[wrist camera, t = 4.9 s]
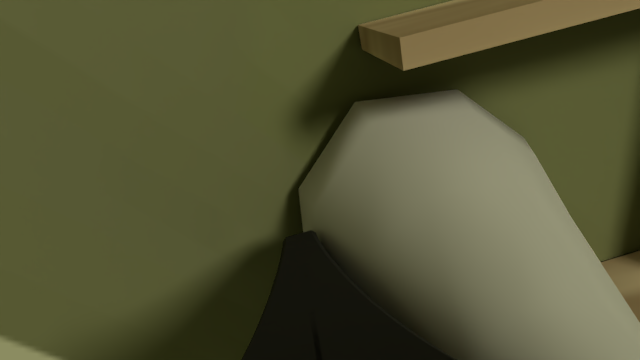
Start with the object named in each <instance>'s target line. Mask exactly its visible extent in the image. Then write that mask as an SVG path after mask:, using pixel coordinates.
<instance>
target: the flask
mask: <svg viewBox="0 0 640 360" xmlns="http://www.w3.org/2000/svg"><path fill="white" fill-rule="evenodd" d="M298 190H299V199H300V208H301V217H302V226H303V232H306V231H310V230H312V231H314V232H316V234H317V236H318V238H319V240H320V242H321V244H322V245H323V247H324V248H325V250H326V251H327V252H328V254H329V255H330V256H331V258H332V259H333V260H334V261H335V262H336V264H337V265H338V266H339V267H340V268H341V269H342V270H343V272H344V273H345V274H346V275H347V276H348V277H349V278H350V279H351V280H352V281H353V282H354V283H355V284H356V285H357V286H358V287H359V288H360V289H361V290H362V291H363V292H364V293H365V294H366V295H367V296H368V297H370V298H371V299H372V300H373V301H374V302H375V303H376V304H377V305H379V306H380V307H381V308H382V309H384V310H385V311H386V312H387V313H389V314H390V315H391V316H392V317H394V318H395V319H396V320H398V321H399V322H400V323H402V324H403V325H404V326H406V327H407V328H408V329H410V330H411V331H413V332H414V333H416V334H417V335H419V336H420V337H422V338H423V339H425V340H427V341H428V342H430V343H431V344H433V345H434V346H436V347H437V348H439V349H440V350H442V351H443V352H445V353H447V354H448V355H450V356H452V357H454V358H455V359H457V360H640V322H639V321H638V319H637V318H636V316H635V315H634V313H633V312H632V310H631V309H630V307H629V305H628V304H627V302H626V301H625V299H624V298H623V296H622V295H621V293H620V292H619V290H618V289H617V287H616V285H615V284H614V282H613V281H612V279H611V278H610V276H609V275H608V273H607V272H606V270H605V269H604V267H603V265H602V264H601V262H600V261H599V259H598V258H597V256H596V255H595V253H594V252H593V250H592V249H591V247H590V245H589V244H588V242H587V241H586V239H585V238H584V236H583V235H582V233H581V232H580V230H579V228H578V227H577V225H576V224H575V222H574V221H573V219H572V218H571V216H570V215H569V213H568V211H567V209H566V208H565V206H564V204H563V202H562V201H561V199H560V197H559V195H558V194H557V192H556V190H555V189H554V187H553V185H552V183H551V182H550V180H549V178H548V176H547V175H546V173H545V171H544V169H543V168H542V166H541V164H540V162H539V161H538V159H537V157H536V156H535V154H534V152H533V151H532V149H531V148H530V146H529V145H528V143H527V142H526V140H525V139H524V137H522V136H521V135H519V134H518V133H517V132H515V131H514V130H513V129H511V128H510V127H508V126H507V125H506V124H504V123H503V122H502V121H500V120H499V119H497V118H496V117H495V116H493V115H492V114H491V113H489V112H488V111H486V110H485V109H484V108H482V107H481V106H480V105H478V104H477V103H476V102H474V101H473V100H471V99H470V98H469V97H467V96H466V95H465V94H463V93H462V92H460V91H459V90H458V89H455V90H447V91H439V92H431V93H423V94H415V95H407V96H398V97H390V98H382V99H374V100H366V101H358V102H354V104H353V105H352V107H351V109H350V110H349V112H348V113H347V115H346V116H345V118H344V119H343V121H342V122H341V124H340V125H339V127H338V129H337V130H336V132H335V133H334V135H333V136H332V138H331V139H330V141H329V142H328V144H327V145H326V147H325V149H324V150H323V152H322V153H321V155H320V156H319V158H318V159H317V161H316V162H315V164H314V166H313V167H312V169H311V170H310V172H309V173H308V175H307V176H306V178H305V179H304V181H303V182H302V184H301V186H300V187H299V189H298Z"/></svg>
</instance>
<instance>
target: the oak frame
mask: <svg viewBox="0 0 640 360" xmlns="http://www.w3.org/2000/svg"><path fill="white" fill-rule="evenodd" d="M639 8H640V0H453V1H449V2H445V3H441V4H437V5H433V6H430V7H426V8H422V9H418V10H414V11H410V12H406V13H402V14H398V15H395V16H391V17H387V18H383V19H379V20H375V21H371V22H367V23H364V24H360V25H358V29H359V35H360V41H361V47H362V50H364V51H366V52H368V53H370V54H372V55H374V56H375V57H377V58H379V59H381V60H383V61H385V62H387V63H389V64H391V65H393V66H395V67H397V68H399V69H401V70H403V71H405V70H409V69H413V68H416V67H420V66H424V65H428V64H431V63H435V62H439V61H443V60H447V59H450V58H454V57H458V56H462V55H465V54H469V53H473V52H477V51H480V50H484V49H488V48H492V47H496V46H499V45H503V44H507V43H511V42H514V41H518V40H522V39H526V38H530V37H533V36H537V35H541V34H545V33H548V32H552V31H556V30H560V29H563V28H567V27H571V26H575V25H579V24H582V23H586V22H590V21H594V20H597V19H601V18H605V17H609V16H612V15H616V14H620V13H624V12H628V11H631V10H635V9H639ZM601 264H602V265H603V267H604V269H605V270H606V272H607V273H608V275H609V276H610V278H611V279H612V281H613V282H614V284H615V285H616V287H617V289H618V290H619V292H620V293H621V295H622V296H623V298H624V299H625V301H626V302H627V304H628V305H629V307H630V309H631V310H632V312H633V313H634V315H635V316H636V318H637V319H638V321H639V322H640V251H637V252H634V253H631V254H627V255H624V256H620V257H617V258H614V259H610V260H607V261H604V262H601Z"/></svg>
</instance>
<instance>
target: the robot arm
mask: <svg viewBox="0 0 640 360" xmlns="http://www.w3.org/2000/svg"><path fill="white" fill-rule="evenodd" d="M242 360H457V359H455V358H454V357H452V356H450V355H448V354H447V353H445V352H443V351H442V350H440V349H439V348H437V347H436V346H434V345H433V344H431V343H430V342H428V341H427V340H425V339H423V338H422V337H420V336H419V335H417V334H416V333H414V332H413V331H411V330H410V329H408V328H407V327H406V326H404V325H403V324H402V323H400V322H399V321H398V320H396V319H395V318H394V317H392V316H391V315H390V314H389V313H387V312H386V311H385V310H384V309H382V308H381V307H380V306H379V305H377V304H376V303H375V302H374V301H373V300H372V299H371V298H370V297H368V296H367V295H366V294H365V293H364V292H363V291H362V290H361V289H360V288H359V287H358V286H357V285H356V284H355V283H354V282H353V281H352V280H351V279H350V278H349V277H348V276H347V275H346V274H345V273H344V272H343V270H342V269H341V268H340V267H339V266H338V265H337V264H336V262H335V261H334V260H333V259H332V258H331V256H330V255H329V254H328V252H327V251H326V250H325V248H324V247H323V245H322V244H321V242H320V240H319V238H318V236H317V234H316V232H314V231H312V230H310V231H306V232H303V233H299V234H296V235H293V236H289V237H286V238H285V240H284V241H283V248H282V253H281V258H280V262H279V266H278V270H277V273H276V277H275V280H274V283H273V286H272V289H271V293H270V295H269V298H268V301H267V303H266V306H265V309H264V311H263V314H262V316H261V319H260V321H259V324H258V326H257V328H256V331H255V333H254V335H253V337H252V339H251V342H250V344H249V346H248V348H247V350H246V352H245V354H244V356H243V358H242Z"/></svg>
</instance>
